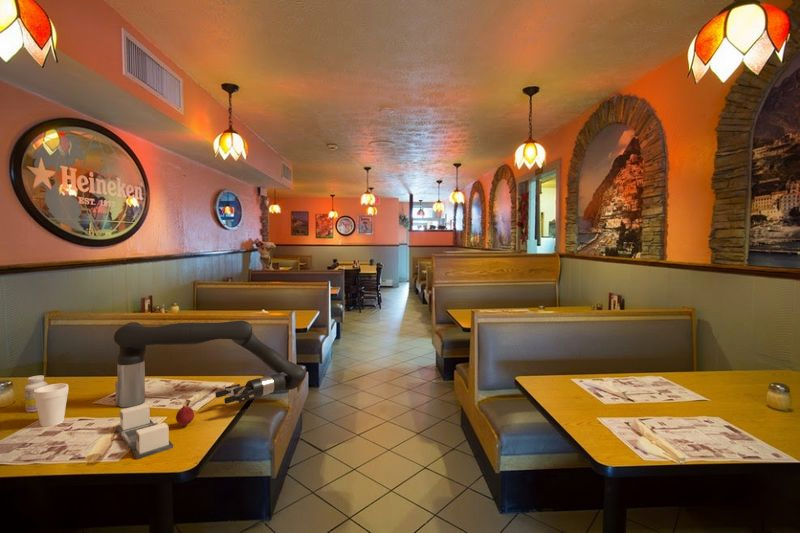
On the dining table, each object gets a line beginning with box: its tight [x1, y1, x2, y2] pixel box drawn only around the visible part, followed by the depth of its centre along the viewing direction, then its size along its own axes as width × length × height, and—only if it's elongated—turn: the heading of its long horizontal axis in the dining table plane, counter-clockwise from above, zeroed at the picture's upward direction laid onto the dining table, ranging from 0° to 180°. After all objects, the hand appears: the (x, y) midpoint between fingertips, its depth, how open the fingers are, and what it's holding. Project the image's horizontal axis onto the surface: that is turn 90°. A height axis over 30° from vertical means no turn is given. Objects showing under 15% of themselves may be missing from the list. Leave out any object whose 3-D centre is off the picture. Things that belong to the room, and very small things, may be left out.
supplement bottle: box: [24, 374, 49, 413], centre depth 153 cm, size 7×7×13 cm
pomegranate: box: [175, 403, 195, 427], centre depth 141 cm, size 6×6×8 cm
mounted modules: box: [119, 403, 170, 454], centre depth 132 cm, size 26×8×6 cm, turn 46°
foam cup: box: [34, 383, 69, 428], centre depth 142 cm, size 10×9×13 cm
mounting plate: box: [115, 419, 174, 460], centre depth 132 cm, size 28×11×2 cm, turn 46°
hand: (220, 398), depth 150 cm, fingers open, 8 cm apart
